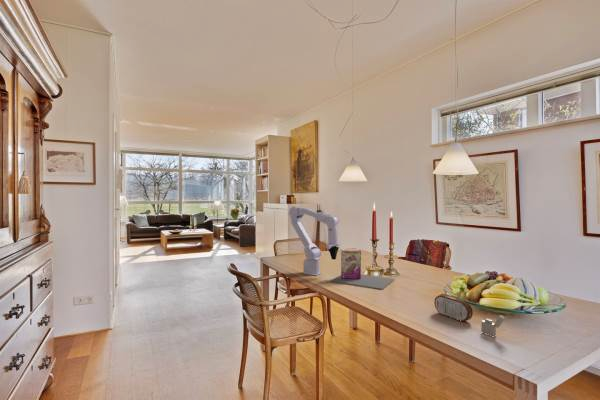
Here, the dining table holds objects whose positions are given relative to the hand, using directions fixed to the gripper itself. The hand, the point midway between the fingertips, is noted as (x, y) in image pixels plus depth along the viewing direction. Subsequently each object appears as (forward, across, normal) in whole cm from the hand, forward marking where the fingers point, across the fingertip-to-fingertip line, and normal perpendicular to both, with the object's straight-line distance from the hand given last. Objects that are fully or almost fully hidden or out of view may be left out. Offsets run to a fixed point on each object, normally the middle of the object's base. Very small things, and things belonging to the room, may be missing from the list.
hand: (333, 259), depth 191 cm
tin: (+14, -33, -67) cm, 76 cm away
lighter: (+14, -44, -81) cm, 94 cm away
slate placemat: (+11, 0, -18) cm, 21 cm away
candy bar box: (+10, 0, -10) cm, 15 cm away
